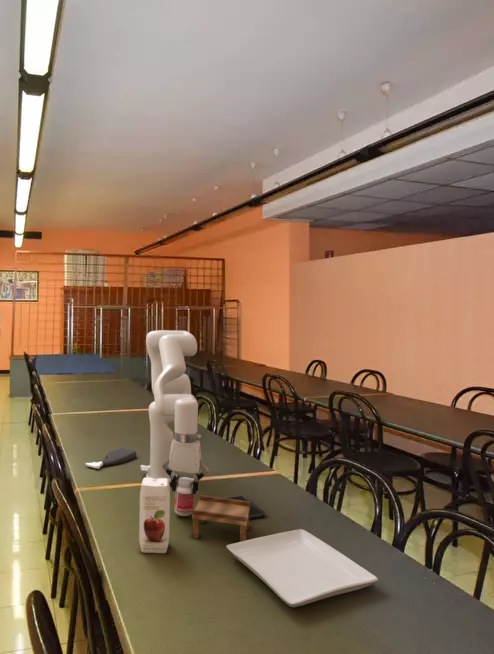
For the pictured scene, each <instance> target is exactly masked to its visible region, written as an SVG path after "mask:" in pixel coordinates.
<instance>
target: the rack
mask: <svg viewBox="0 0 494 654" xmlns="http://www.w3.org/2000/svg"><path fill="white" fill-rule="evenodd" d="M226 498H227V497H217V496H211V495H203V494H200V495H199V500H198V502H197V504H196V506H195V508H193V510H192V514H191V516H192V517H191V519H192V538H195V539H198V538H199V536H200V523H201V524H205V523H206V521H209V522H216V523H223V524H229V525H237V526H239V542H242V541H246V540H247V531H249V529H250V519H249V512H250V502H251V501H250V500H249V501H250V502H249V501H242V500H234V499H226Z"/></svg>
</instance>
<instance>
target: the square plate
mask: <svg viewBox="0 0 494 654" xmlns="http://www.w3.org/2000/svg"><path fill="white" fill-rule="evenodd" d="M225 546H226V549H227V550H228V551H229V552H230V553H231V554H232V555H233V556H234V557H235V558H236V559H237V560H238V561H239V562H240V563H242V564H243V565H244V566H245V567H247V569H248V570H249V571H251V572H252V573H253V574H254V575H256V577H258V578H259V579H260V580H261V581H262V582H263V583H264V584H265V585H267V586H268V588H270V589H271V590H272V592H273V593H274V594H276V595H277V597H279V598H280V599H281V600H282V601H283V602H284V603H285V604H286V605H288V606H289V607H291V608H298V607H302V606H305V605H308V604H311V603H315V602H317V601H320V600H325V599H327V598H331V597H334V596H338V595H342V594H346V593H350V592H354V591H358V590H361V589H364V588H366V587H370V586H371V585H374V584H375V583H377V582H379V578H378V577H377V575H375V574H373V573H371V572H370V571H368V570H367V569H365V568H364V567H363V566H361V565H359V564H358V563H357V562H355V561H353V560H352V559H351V558H349V557H348V556H346V555H344V554H343V553H341V551H339V550H337V549H335V548H334V547H332V546H331V545H330V544H328V543H326V542H325V541H324V540H321V539H320V538H319V537H316V536H315V535H313V534H312V533H310V532H308V531H307V530H305V529H302V528H298V529H294V530H288V531H283V532H278V533H274V534H269V535H265V536H264V535H263V536H260V537H254V538H251V539H246V541H242V542H240V541H239V542H235V543H230V544H227V545H225Z"/></svg>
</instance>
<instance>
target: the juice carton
mask: <svg viewBox="0 0 494 654" xmlns="http://www.w3.org/2000/svg"><path fill="white" fill-rule="evenodd" d="M170 512H171V485H170V483H169V481H168V479H167V478H159V479H153V478H146V476H144V477H143V479H142V481H141V485H140V490H139V524H138V525H139V526H138V527H139V528H138V531H139V533H138V542H139V548H140V550H141V553H144V554H145V553H146V554H151V553H154V554H166V553H167V550H168V547H169V543H170V519H171V518H170V517H171V515H170V514H171V513H170Z"/></svg>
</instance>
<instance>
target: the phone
mask: <svg viewBox="0 0 494 654" xmlns="http://www.w3.org/2000/svg"><path fill="white" fill-rule="evenodd" d="M225 498H226V499H234V500H242V501H249V502H250V512H249V520H252V519H260V518H264V517H265V516H266V515H265V514H266V513H265V511H263V510H262V509H261V508H260V507H258V506H257V505H255V503H253V502H252V501H251V500H249V499H248V498H246V497H245V496H243V495H238V496H232V497H225Z"/></svg>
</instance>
